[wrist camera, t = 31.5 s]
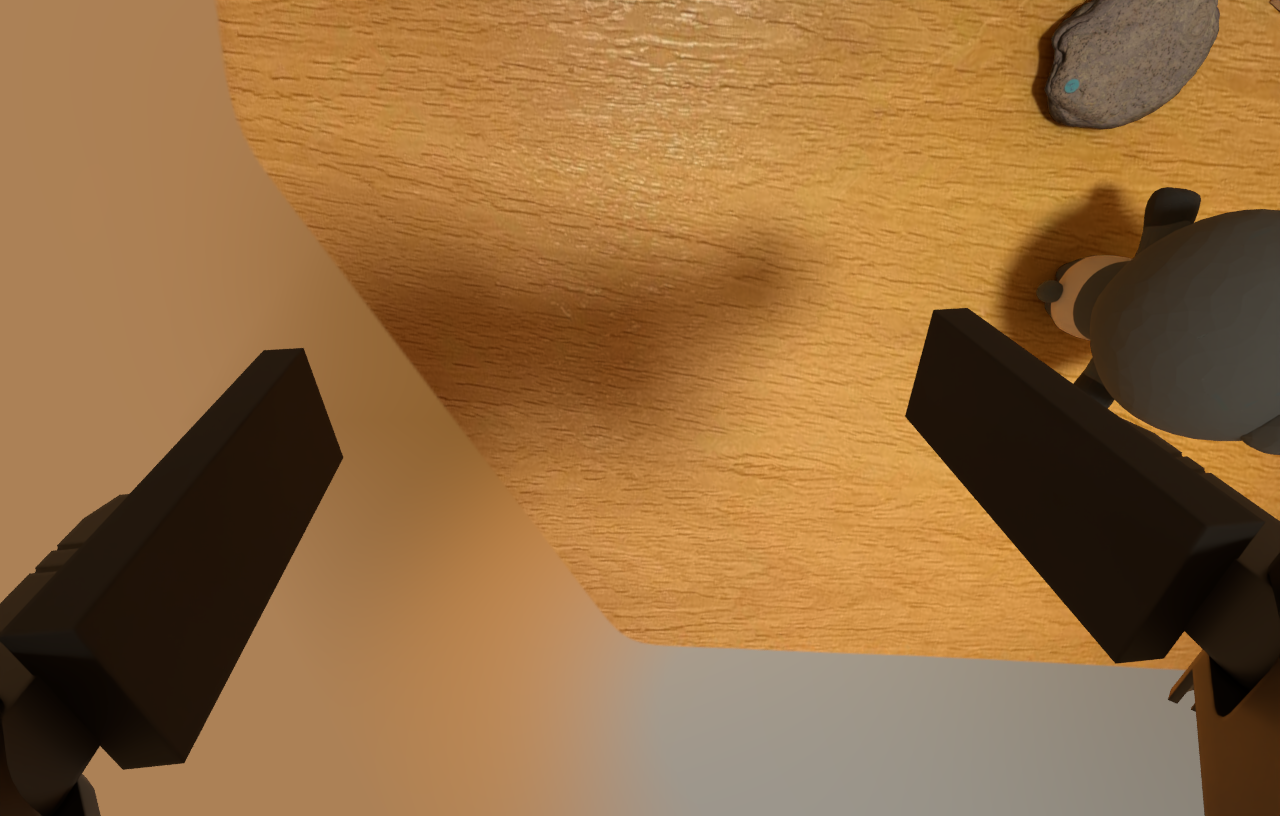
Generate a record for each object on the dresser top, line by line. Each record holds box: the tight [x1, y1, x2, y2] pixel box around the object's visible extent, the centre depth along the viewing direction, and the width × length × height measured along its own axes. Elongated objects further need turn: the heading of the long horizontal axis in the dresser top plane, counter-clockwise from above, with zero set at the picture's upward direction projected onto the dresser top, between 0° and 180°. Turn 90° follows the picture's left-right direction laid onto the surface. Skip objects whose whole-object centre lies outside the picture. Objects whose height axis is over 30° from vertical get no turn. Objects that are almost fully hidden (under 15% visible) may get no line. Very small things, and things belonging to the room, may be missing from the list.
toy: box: [1036, 187, 1280, 455], centre depth 29 cm, size 12×10×15 cm
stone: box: [1045, 0, 1220, 129], centre depth 30 cm, size 7×8×2 cm
